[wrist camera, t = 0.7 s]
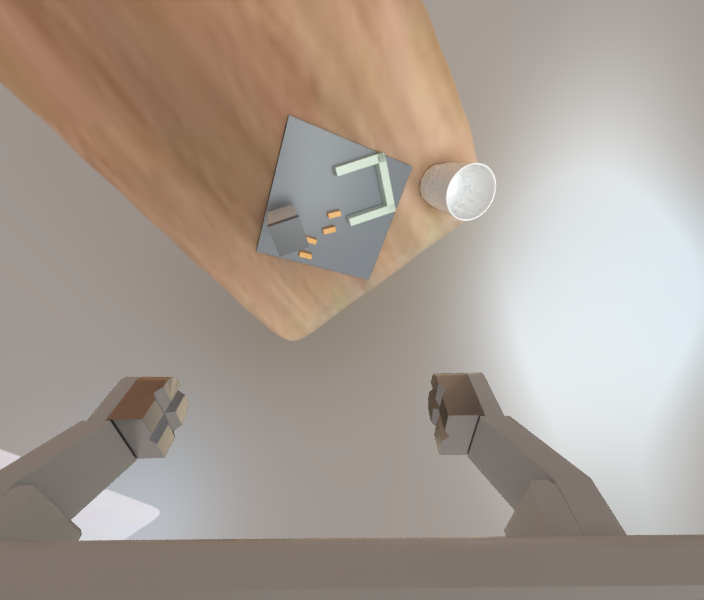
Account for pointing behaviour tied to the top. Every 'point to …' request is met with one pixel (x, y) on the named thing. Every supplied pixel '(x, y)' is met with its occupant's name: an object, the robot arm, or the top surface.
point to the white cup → (459, 189)
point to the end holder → (384, 183)
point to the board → (330, 199)
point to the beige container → (286, 230)
